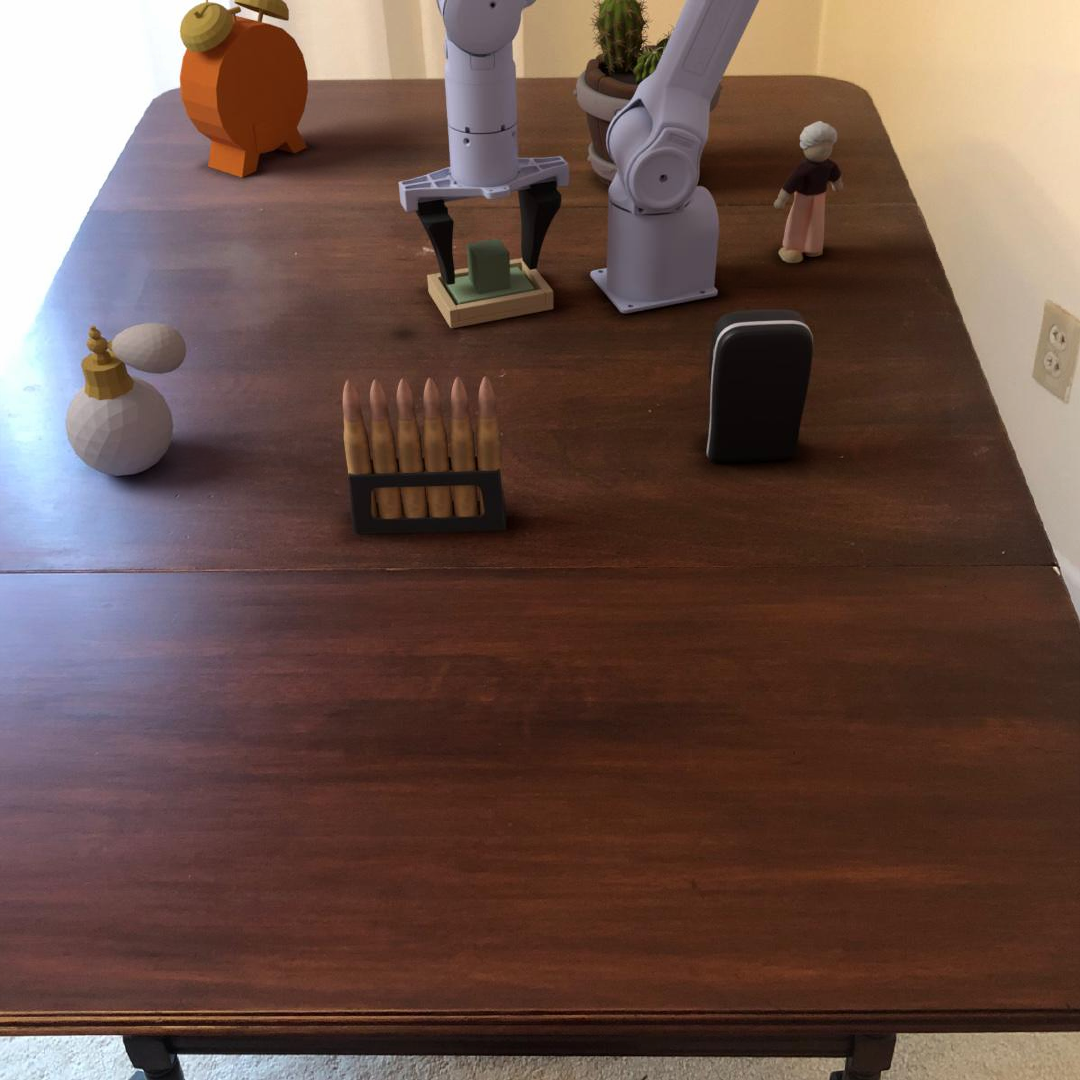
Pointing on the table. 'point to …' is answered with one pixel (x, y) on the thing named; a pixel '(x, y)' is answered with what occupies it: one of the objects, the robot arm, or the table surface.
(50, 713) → the table surface
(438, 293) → the socket pad
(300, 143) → the alarm clock
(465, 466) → the ammunition clip
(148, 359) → the perfume bottle
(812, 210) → the grandmother figurine
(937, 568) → the table surface
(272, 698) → the table surface
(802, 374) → the battery charger
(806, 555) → the table surface
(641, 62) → the flowerpot
